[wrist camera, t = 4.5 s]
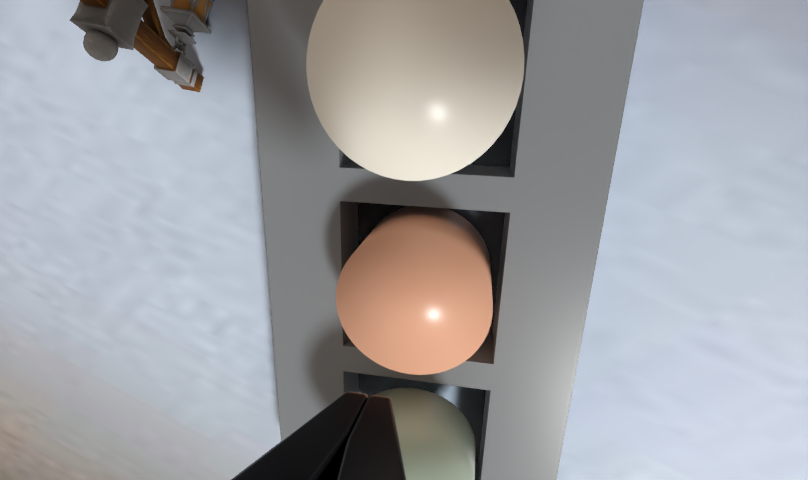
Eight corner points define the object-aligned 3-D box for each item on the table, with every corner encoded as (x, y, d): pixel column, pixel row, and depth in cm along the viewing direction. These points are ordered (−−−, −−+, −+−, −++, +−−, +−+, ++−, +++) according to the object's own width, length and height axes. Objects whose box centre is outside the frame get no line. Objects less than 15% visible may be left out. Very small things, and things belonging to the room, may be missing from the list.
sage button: (480, 396, 14) (480, 470, 11) (470, 498, 16) (467, 585, 13) (351, 379, 15) (321, 445, 12) (352, 478, 16) (326, 557, 13)
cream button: (522, -17, 10) (538, -60, 8) (504, 165, 12) (511, 187, 9) (347, -15, 11) (301, -55, 8) (349, 157, 12) (310, 174, 10)
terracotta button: (496, 209, 14) (500, 238, 11) (484, 330, 15) (485, 383, 12) (362, 200, 14) (334, 224, 12) (363, 317, 16) (337, 364, 13)
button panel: (630, -55, 11) (659, -85, 10) (538, 490, 17) (545, 537, 16) (276, -47, 13) (241, -72, 11) (304, 453, 19) (285, 491, 17)
